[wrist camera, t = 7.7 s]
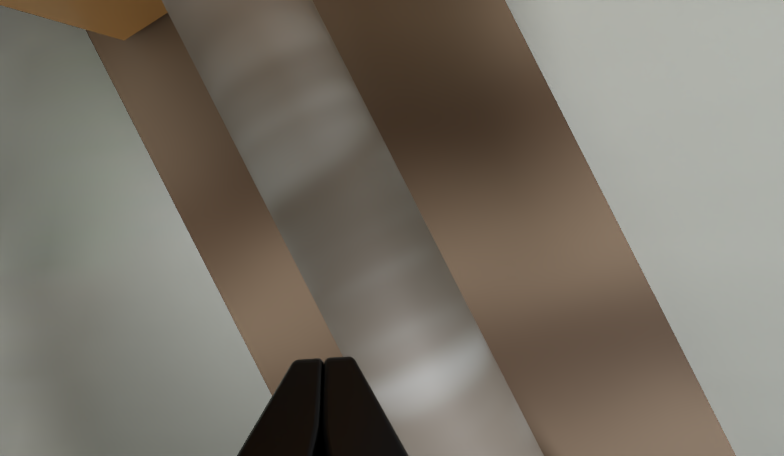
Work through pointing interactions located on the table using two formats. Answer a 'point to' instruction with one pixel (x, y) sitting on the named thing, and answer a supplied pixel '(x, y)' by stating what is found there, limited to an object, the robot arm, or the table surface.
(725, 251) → the table surface
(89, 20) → the orange tan block
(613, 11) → the table surface
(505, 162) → the pipe board
